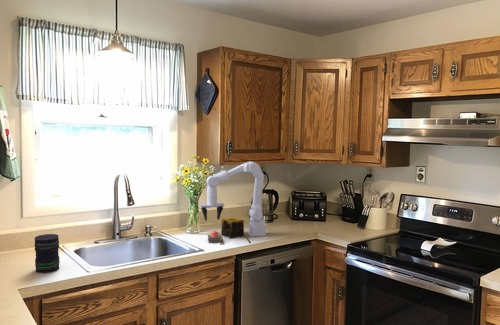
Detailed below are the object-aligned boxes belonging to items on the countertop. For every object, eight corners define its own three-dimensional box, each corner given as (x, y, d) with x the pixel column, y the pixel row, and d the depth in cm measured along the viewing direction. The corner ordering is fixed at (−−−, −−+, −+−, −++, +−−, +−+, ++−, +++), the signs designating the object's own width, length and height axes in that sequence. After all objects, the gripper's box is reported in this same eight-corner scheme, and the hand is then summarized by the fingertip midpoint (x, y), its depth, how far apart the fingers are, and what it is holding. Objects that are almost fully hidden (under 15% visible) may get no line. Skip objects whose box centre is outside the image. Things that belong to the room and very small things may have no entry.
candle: (230, 238, 242) (230, 221, 241) (220, 235, 249) (220, 218, 249) (244, 236, 248) (244, 219, 247) (234, 232, 256) (234, 216, 255)
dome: (217, 238, 238) (217, 229, 238) (218, 240, 234) (218, 231, 234) (210, 238, 237) (210, 230, 237) (210, 240, 233) (210, 231, 233)
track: (243, 232, 256) (243, 231, 256) (251, 243, 232) (251, 242, 232) (215, 233, 253) (215, 232, 253) (219, 244, 229) (219, 243, 229)
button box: (219, 239, 240) (219, 234, 239) (220, 242, 233) (220, 237, 233) (207, 239, 238) (207, 234, 238) (208, 243, 232) (208, 237, 232)
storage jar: (63, 265, 192) (62, 234, 190) (54, 273, 182) (53, 239, 181) (41, 265, 191) (40, 234, 190) (31, 273, 182) (29, 239, 180)
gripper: (221, 195, 250) (221, 217, 251) (198, 196, 244) (198, 219, 245) (225, 196, 243) (225, 219, 244) (201, 198, 238) (201, 221, 239)
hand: (212, 219), depth 244 cm, fingers open, 7 cm apart
